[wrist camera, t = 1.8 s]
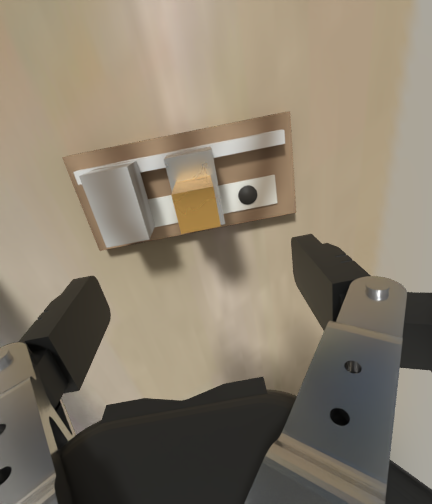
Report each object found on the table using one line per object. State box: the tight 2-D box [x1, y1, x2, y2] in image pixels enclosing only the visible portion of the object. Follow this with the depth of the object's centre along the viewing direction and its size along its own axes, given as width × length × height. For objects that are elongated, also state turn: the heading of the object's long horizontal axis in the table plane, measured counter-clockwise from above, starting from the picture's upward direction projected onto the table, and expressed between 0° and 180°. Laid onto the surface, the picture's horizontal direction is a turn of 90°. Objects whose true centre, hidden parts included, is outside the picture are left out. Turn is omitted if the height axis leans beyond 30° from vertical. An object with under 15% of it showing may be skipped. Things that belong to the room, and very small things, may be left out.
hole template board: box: [62, 112, 296, 251], centre depth 27 cm, size 22×10×6 cm, turn 100°
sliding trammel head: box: [164, 146, 225, 234], centre depth 24 cm, size 4×6×9 cm, turn 10°
